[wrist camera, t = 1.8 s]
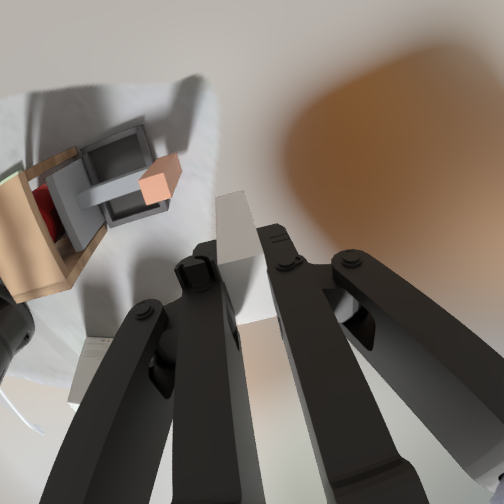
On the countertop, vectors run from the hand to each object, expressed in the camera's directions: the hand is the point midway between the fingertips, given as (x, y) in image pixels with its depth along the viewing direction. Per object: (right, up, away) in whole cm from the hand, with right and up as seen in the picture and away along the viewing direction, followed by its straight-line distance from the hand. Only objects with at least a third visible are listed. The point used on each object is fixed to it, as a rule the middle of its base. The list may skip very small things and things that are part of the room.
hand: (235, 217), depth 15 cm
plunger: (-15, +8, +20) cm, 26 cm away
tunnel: (-26, +6, +20) cm, 34 cm away
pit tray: (-16, +8, +20) cm, 27 cm away
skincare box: (-28, -21, +35) cm, 50 cm away
